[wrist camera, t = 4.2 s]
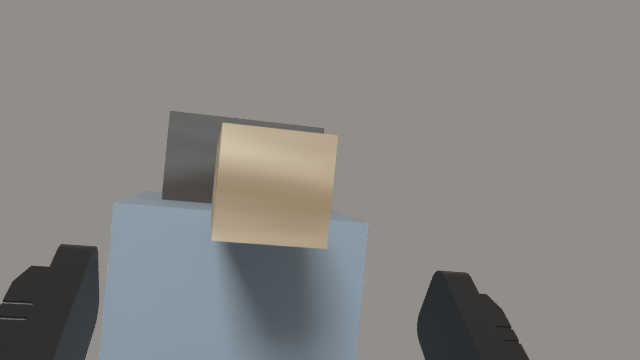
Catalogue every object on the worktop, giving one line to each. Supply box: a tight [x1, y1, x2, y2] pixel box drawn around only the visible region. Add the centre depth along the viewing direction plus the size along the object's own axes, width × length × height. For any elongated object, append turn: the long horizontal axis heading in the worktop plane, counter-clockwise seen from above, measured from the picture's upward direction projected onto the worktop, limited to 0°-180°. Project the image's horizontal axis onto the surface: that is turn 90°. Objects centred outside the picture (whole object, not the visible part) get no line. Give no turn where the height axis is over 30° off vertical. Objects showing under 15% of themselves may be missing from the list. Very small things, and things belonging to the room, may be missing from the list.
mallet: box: [162, 111, 338, 249], centre depth 25 cm, size 21×8×4 cm, turn 11°
